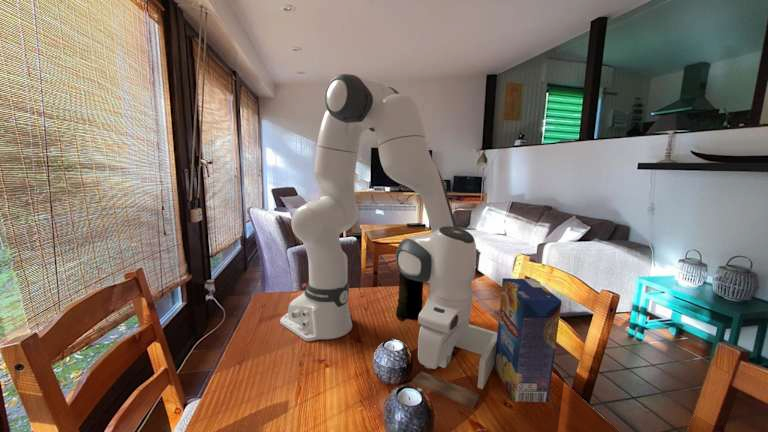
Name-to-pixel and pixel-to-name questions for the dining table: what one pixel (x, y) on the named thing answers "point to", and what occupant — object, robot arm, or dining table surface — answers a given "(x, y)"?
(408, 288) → the container
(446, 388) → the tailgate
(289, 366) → the dining table surface
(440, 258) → the robot arm
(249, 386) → the dining table surface
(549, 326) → the juice carton
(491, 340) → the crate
